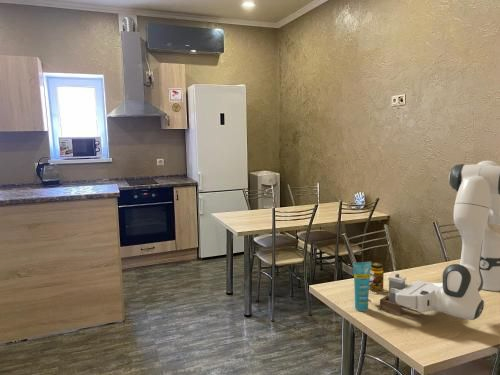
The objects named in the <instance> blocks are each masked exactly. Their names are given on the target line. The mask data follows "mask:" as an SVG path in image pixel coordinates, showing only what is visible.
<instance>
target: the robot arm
mask: <svg viewBox="0 0 500 375" xmlns="http://www.w3.org/2000/svg"><path fill="white" fill-rule="evenodd" d="M448 183H449V186H450V187H451V188H452V190H455V191H456V192H457V193H456V196H455V201H454V206H453V216H452V217H453V223H454V225H455V227H456V229H457V230H458V232H459V235H460V237H461V242H462V246H461V255H460V262H459V263H452V264H449V265H448V266H446V267H445V268H444V269H443V272H442V283H443V287H439V286H435V285H434V284H431V283H432V282H429V281H424V280H421V279H419V280H418V279H417V280H415V281H413V282H411V283H412V284H410V283H405V288H404V289H402V290H398V289H397V288H394V287H392V288H391V293H395V294H396V303H398V304H399V305H402V306H405V307H408V308H410V309H413V310H417V312H419V313H426V312H427V313H428V312H433V311H434V312H436V313H444V314H447V315H449V316H451V317H455V318H459V319H463V320H469V321H474V320H476V319H478V318H479V317H480V316H481V315H482V313H483V311H484V307H485V301H484V299H483V298H482V296H481V294H480V292H481V290H484V291H491V292H492V291H493V292H500V234H499V233H496V232H495V231H493V230H491V228H490V227H489V225H493V226H500V165H499V164H498V163H497V162H495V161H493V160H482V161H480V162H478V163H476V164H472V163H471V164H465V163H462V164H461V163H460V164H456V165H454V166H453V167H452V168H451V170H450V172H449V174H448Z"/></svg>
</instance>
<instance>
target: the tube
mask: <svg viewBox="0 0 500 375" xmlns="http://www.w3.org/2000/svg"><path fill="white" fill-rule="evenodd" d="M371 263H372V261H371V260H370V261H365V262H353V263H352V267H353V269H352V270H353V282H354V285H353V286H354V309H355V310H356V311H359V312H366V311H368V309H369V308H368V307H369V303H368V299H369V292H370V291H369V281H370V270H371Z"/></svg>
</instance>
